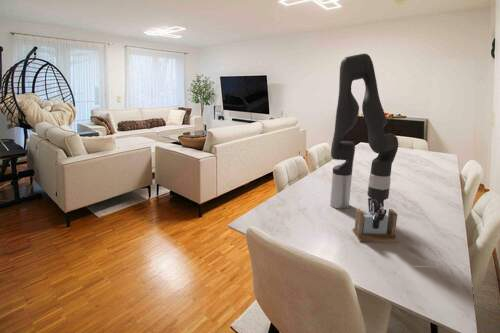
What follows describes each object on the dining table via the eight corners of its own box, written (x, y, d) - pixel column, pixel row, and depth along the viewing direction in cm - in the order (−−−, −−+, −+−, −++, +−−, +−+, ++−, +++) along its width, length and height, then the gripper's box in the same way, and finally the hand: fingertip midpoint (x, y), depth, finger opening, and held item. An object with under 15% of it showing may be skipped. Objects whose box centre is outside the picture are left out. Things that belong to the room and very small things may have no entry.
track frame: (352, 230, 123) (354, 206, 120) (386, 230, 122) (389, 206, 119) (359, 242, 113) (362, 216, 110) (396, 242, 113) (400, 217, 110)
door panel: (360, 232, 119) (362, 214, 117) (383, 233, 118) (385, 214, 116) (362, 235, 116) (364, 217, 114) (385, 236, 116) (388, 217, 114)
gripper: (363, 179, 119) (359, 219, 123) (375, 191, 106) (370, 234, 110) (382, 180, 119) (377, 219, 123) (396, 191, 105) (391, 235, 110)
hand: (374, 226), depth 116 cm, fingers closed on door panel, 2 cm apart
